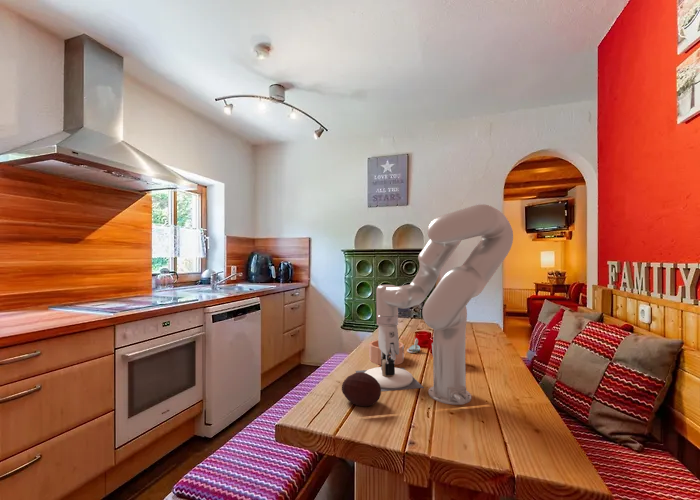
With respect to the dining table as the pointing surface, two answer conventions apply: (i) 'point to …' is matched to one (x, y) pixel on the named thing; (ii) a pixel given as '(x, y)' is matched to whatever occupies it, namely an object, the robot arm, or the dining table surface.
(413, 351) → the pacifier
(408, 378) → the lid
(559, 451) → the dining table surface
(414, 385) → the mat
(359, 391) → the potato
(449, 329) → the robot arm
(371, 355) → the bowl
